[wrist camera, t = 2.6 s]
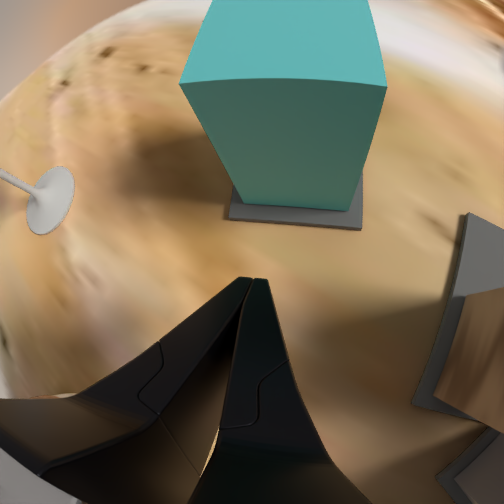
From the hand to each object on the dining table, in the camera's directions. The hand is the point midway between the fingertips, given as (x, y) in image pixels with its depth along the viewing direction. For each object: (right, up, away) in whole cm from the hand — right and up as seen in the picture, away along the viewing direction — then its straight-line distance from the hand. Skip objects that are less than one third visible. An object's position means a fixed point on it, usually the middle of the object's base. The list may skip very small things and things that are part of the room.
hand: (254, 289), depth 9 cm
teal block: (+3, +7, +12) cm, 15 cm away
